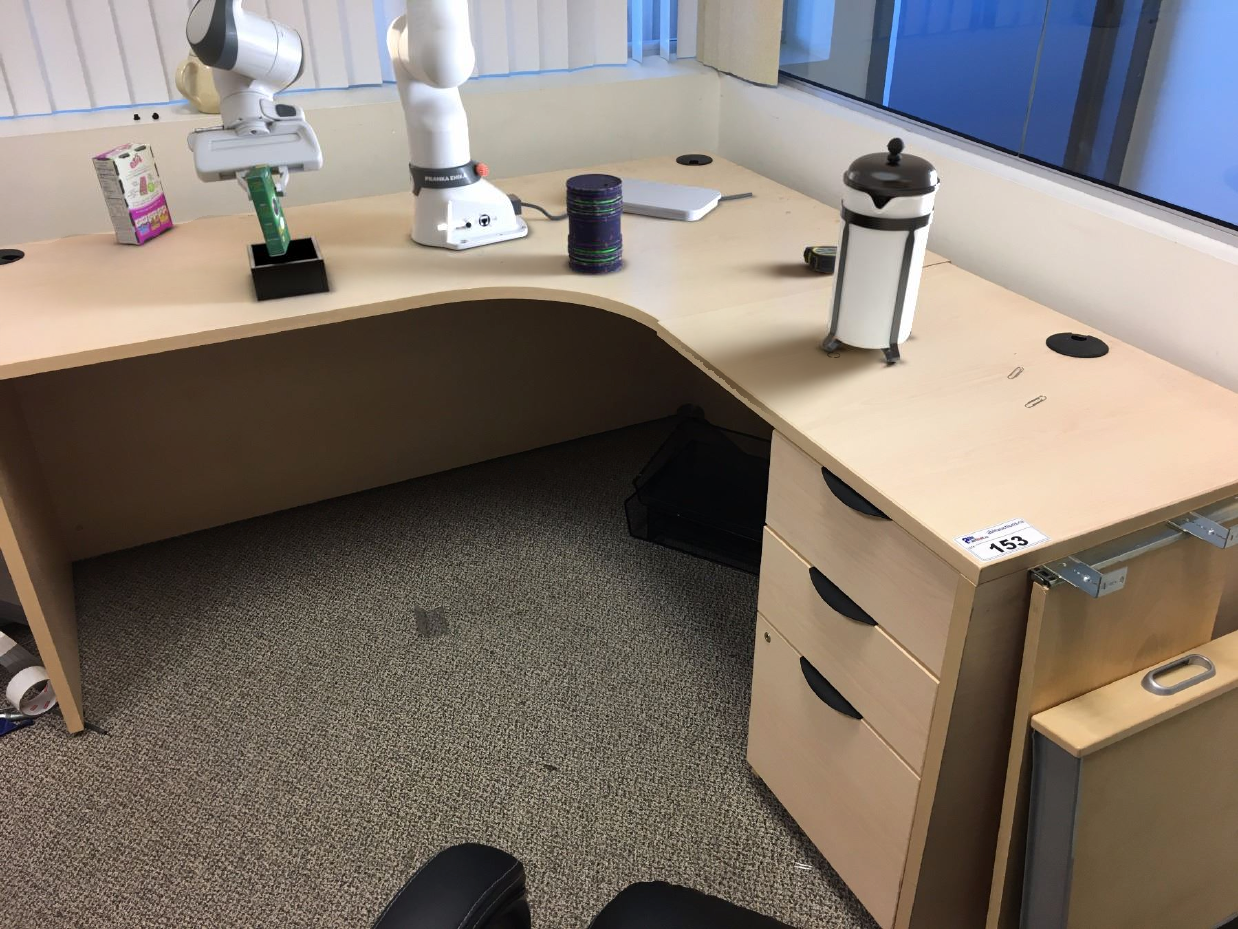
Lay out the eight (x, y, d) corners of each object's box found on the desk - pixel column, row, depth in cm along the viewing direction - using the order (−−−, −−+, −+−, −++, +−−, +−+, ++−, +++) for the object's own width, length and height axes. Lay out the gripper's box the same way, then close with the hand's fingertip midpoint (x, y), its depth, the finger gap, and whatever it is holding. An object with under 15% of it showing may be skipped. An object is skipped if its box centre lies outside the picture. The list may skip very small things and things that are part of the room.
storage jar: (556, 265, 169) (553, 181, 161) (594, 251, 175) (593, 170, 167) (596, 279, 164) (594, 193, 156) (634, 264, 170) (634, 181, 162)
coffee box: (274, 240, 162) (251, 164, 155) (291, 238, 162) (269, 161, 155) (268, 257, 155) (243, 178, 148) (286, 254, 156) (262, 175, 148)
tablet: (696, 223, 189) (697, 212, 187) (582, 206, 198) (581, 195, 197) (724, 201, 201) (725, 190, 200) (615, 186, 211) (615, 176, 209)
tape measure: (839, 262, 170) (841, 242, 168) (850, 276, 164) (852, 255, 162) (802, 263, 170) (804, 243, 168) (811, 277, 164) (814, 256, 162)
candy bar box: (152, 225, 189) (128, 141, 180) (174, 227, 188) (152, 142, 179) (116, 244, 180) (90, 156, 171) (139, 245, 179) (114, 158, 170)
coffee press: (943, 356, 137) (986, 146, 121) (845, 371, 134) (875, 155, 117) (883, 311, 151) (913, 117, 135) (792, 323, 148) (813, 125, 131)
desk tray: (320, 266, 169) (315, 235, 166) (329, 291, 159) (323, 259, 156) (253, 275, 166) (246, 244, 163) (257, 301, 156) (250, 268, 153)
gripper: (181, 118, 152) (197, 194, 150) (311, 106, 158) (329, 179, 156) (188, 139, 158) (204, 214, 156) (313, 127, 164) (330, 198, 162)
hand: (267, 196), depth 156 cm, fingers closed on coffee box, 3 cm apart
